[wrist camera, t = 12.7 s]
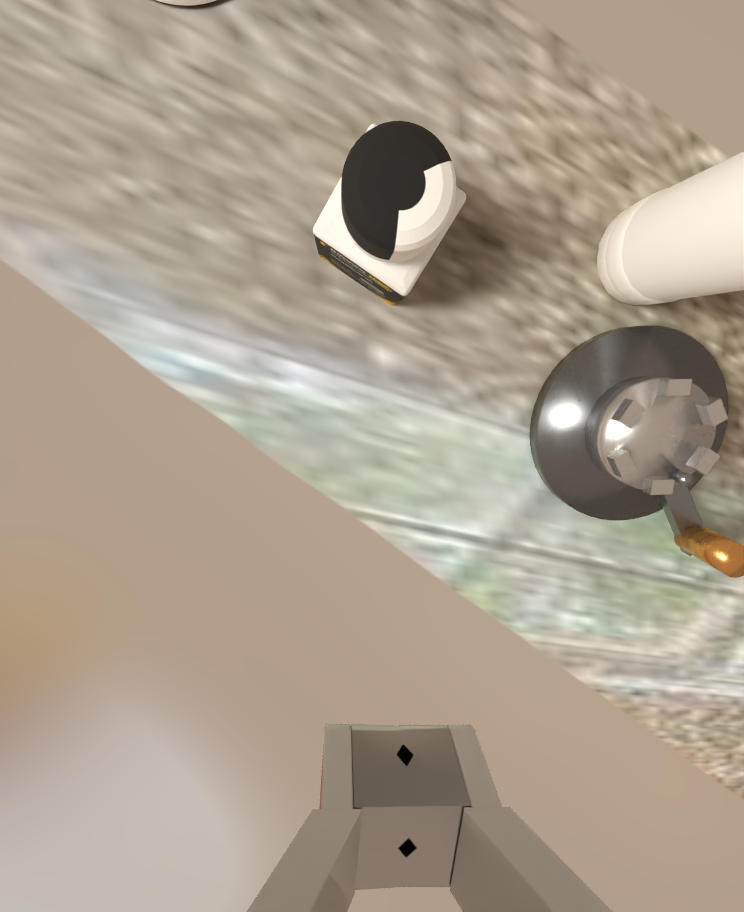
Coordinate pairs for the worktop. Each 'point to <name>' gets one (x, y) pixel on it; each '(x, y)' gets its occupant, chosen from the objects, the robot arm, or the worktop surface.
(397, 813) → the robot arm
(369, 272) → the medicine bottle
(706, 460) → the crank handle dial
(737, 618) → the worktop surface
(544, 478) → the flange
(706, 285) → the bottle
